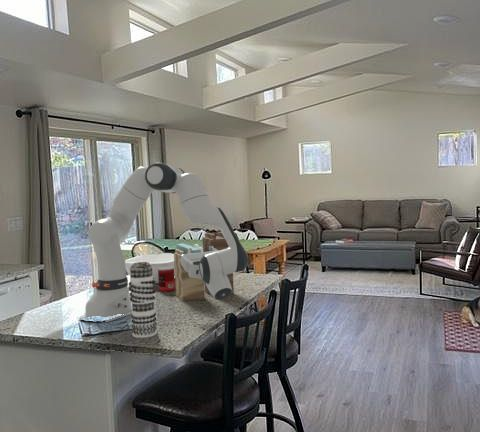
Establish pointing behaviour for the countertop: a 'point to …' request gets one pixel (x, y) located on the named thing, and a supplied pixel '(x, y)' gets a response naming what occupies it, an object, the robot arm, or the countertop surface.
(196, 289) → the tan wooden tall block
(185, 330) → the countertop surface
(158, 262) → the baking dish
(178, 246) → the teal block
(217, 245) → the end cap post
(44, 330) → the countertop surface
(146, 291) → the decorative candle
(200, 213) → the robot arm
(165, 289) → the canned food
